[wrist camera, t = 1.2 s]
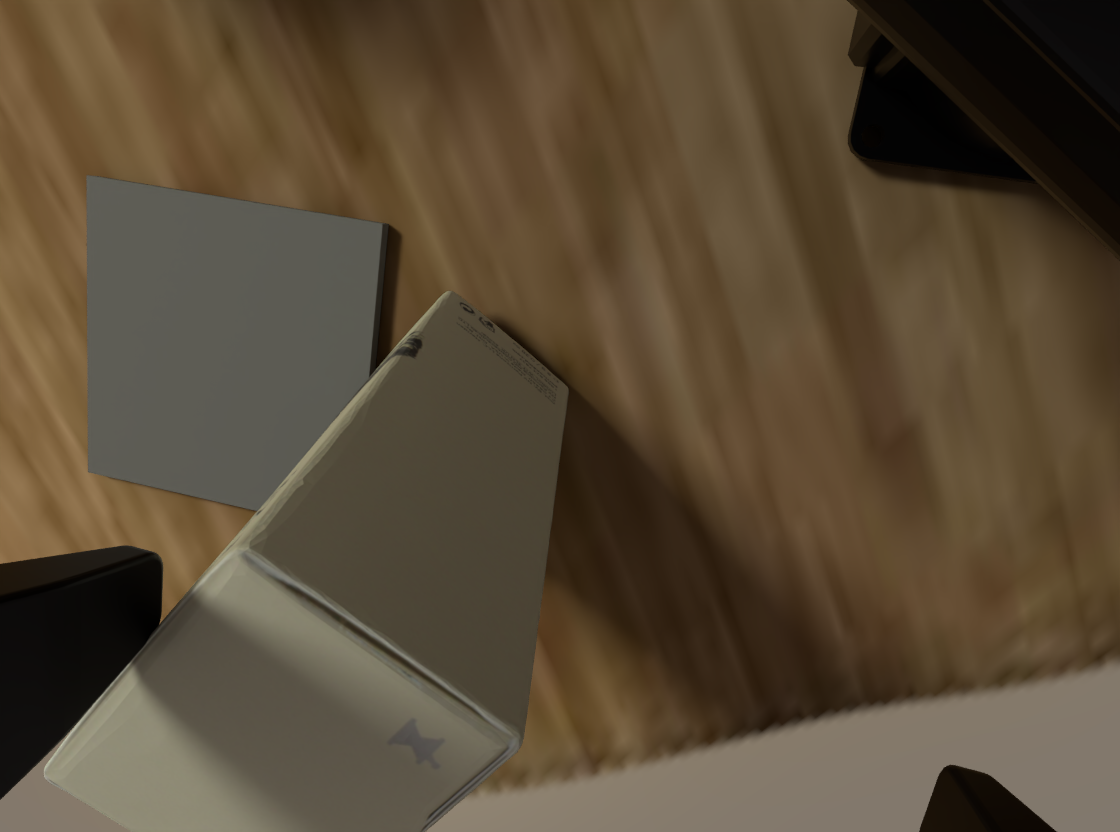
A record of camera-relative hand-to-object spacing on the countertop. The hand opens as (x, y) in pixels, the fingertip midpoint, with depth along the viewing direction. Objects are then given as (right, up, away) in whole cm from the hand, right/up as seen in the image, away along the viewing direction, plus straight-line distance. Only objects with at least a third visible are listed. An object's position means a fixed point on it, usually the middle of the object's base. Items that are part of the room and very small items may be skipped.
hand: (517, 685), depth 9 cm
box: (-2, +3, +13) cm, 14 cm away
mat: (-9, +5, +14) cm, 18 cm away
